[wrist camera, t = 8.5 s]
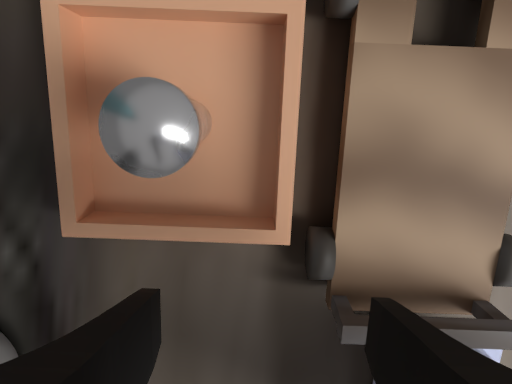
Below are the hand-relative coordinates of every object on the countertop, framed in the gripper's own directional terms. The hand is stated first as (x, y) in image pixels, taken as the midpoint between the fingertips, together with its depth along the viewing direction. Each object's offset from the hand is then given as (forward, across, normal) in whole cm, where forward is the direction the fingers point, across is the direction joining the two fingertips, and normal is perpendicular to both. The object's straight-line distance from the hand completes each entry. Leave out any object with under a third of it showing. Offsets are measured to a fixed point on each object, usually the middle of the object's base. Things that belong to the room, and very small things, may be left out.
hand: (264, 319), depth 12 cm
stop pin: (+9, +4, -6) cm, 12 cm away
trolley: (+10, -8, -6) cm, 14 cm away
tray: (+10, +4, -6) cm, 12 cm away
